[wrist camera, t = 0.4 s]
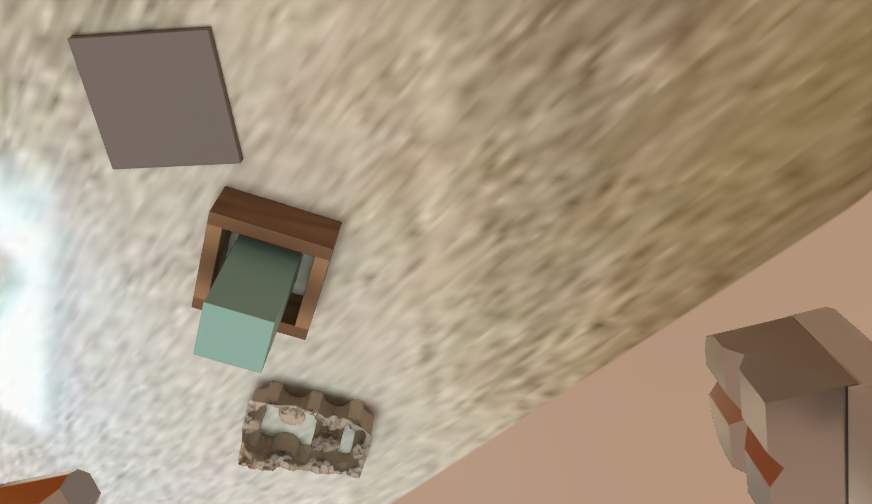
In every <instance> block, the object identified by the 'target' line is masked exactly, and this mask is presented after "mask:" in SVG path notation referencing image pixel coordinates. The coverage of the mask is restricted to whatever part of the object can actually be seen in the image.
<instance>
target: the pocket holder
mask: <svg viewBox="0 0 872 504" xmlns="http://www.w3.org/2000/svg"><path fill="white" fill-rule="evenodd" d="M340 226H341V222H338V221H335V220H332V219H329V218H325V217H322V216H319V215H316V214H313V213H309V212H306V211H303V210H300V209H296V208H293V207H290V206H287V205H284V204H280V203H277V202H274V201H271V200H268V199H264V198H261V197H258V196H255V195H251V194H248V193H245V192H242V191H239V190H235V189H232V188H229V187H226V186H225V188H224V189H223V191H222V192H221V194H220V196H219V197H218V199H217V200H216V202H215V204H214V205H213V207H212V208H211V210H210V212H209V217H208V222H207V228H206V233H205V238H204V244H203V249H202V254H201V260H200V265H199V270H198V276H197V281H196V286H195V292H194V297H193V302H192V307H193V308H197V309H200V310H202V308H203V303H204V300H205V299H206V297H207V295H208V293H209V291H210V289H211V287H212V285H213V284H214V282H215V280H216V278H217V276H218V274H219V272H220V270H221V269H222V267H223V265H224V261H225V257H226V252H227V247H228V242H229V238H230V233H231V231H233V232H236V233H239V234H242V235H246V236H249V237H252V238H256V239H259V240H262V241H266V242H269V243H272V244H275V245H279V246H282V247H285V248H289V249H292V250H295V251H298V252H302V253H305V254H308V255H312V256H315V259H314V262H313V266H312V269H311V272H310V276H309V279H308V283H307V286H306V290H305V293H304V296H299V295H296V294H293V293H291V295H290V298H289V300H288V303H287V306H286V308H285V311H284V314H283V316H282V319H281V322H280V324H279V327H278V330H277V332H279V333H283V334H286V335H290V336H293V337H297V338H300V339H304V340H305V339H306V336H307V333H308V330H309V327H310V324H311V321H312V318H313V314H314V311H315V308H316V305H317V302H318V298H319V295H320V292H321V288H322V285H323V282H324V279H325V275H326V272H327V269H328V265H329V262H330V259H331V256H332V252H333V249H334V246H335V243H336V239H337V236H338V233H339V229H340Z"/></svg>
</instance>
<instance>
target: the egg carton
mask: <svg viewBox="0 0 872 504" xmlns="http://www.w3.org/2000/svg"><path fill="white" fill-rule="evenodd" d="M266 404H270V405H273V406H274V407H276V408H279V409H280V410H279V417H280V419H281V420H282V421H283V422H285V423H287V424H290V425H297V424H300V423H302V422H303V421H304V420H305V414H304V412H307V413H309V414H310V415H314V413H317V415H316V416H315V415H314V416H315V419H318V420H317V424H316V428H315V432H314V436H313V439H312V444H311V445H304V444H300V441H299V439H298V438H297V437H296V436H295V435H293V434H291V433H286V432H284V433H279V434H277V435H276V436H275V437H274V438H272V437H267V436H264V435H262V432H261V430H260V429H259V428H260V427H261V424H262V421H263V418H264V415H265V412H266ZM373 420H374V415H373V414H371V413H369V412H368V411H367V410H365V408H364V405H363V402H362V401H359V400H354V399H352V400H351V401H350V402H349V403H348V404H346V405H344V406H335V405H332V404H330V403H328V402H327V401H326V399H325V397H324V393H323V392H318V391H314V390H312V391H311V392H310V393H309V394H308V395H306V396H304V397H294V396H292V395H290V394H288V393H287V392H286V391H285V389H284V386H283V384H282V383H279V382H273V381H272V382H271V383H270V385H269V386H268V387H266V388H261V389H257V390H256V391H255V392H254V395H253V398H252V400H251V399H250V400H249V403H248V409H247V412H246V418H245V420H244V423H243V428H242V444H241V449H240V454H239V465H241V466H248V467H249V468H251V469H260V470H262V471H263V470H272V471H274V469H276V468H277V467H282V468H285V469H288V470H290V471H295V470H297V469H298V470H304V471H311V472H314V473H316V474H334V473H337V474H344V473H346V472H347V475H349V476H351V477H354V478H357V477H358V478H359V477H360V475H361V472H362V469H363V465H364V463H365V460H366V457H367V454H368V451H369V448H370V446H371V442H372V436H371V432H372V425H373ZM347 424H349V426H350V429H352V430H353V431H355V436H354V441H353V446H352V449H351V452H350V454H343V453H340V452H338V451H337V448H338V447H339V446H340V443H341V438H342V434H343V430H344V426H345V425H347Z"/></svg>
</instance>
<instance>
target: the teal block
mask: <svg viewBox="0 0 872 504" xmlns="http://www.w3.org/2000/svg"><path fill="white" fill-rule="evenodd" d="M302 256H303V253H302V252H298V251H295V250H292V249H289V248H285V247H282V246H279V245H275V244H272V243H269V242H266V241H262V240H259V239H256V238H252V237H249V236H246V235H242V234H240V235H239V237H238V238H237V240H236V242H235V244H234V246H233V248H232V250H231V252H230V253H229V255H228V257H227V259H226V261H225V263H224V265H223V267H222V269H221V270H220V272H219V274H218V276H217V278H216V280H215V282H214V284H213V285H212V287H211V289H210V291H209V293H208V295H207V297H206V299H205V300H204V303H203V308H202V313H201V318H200V323H199V328H198V333H197V338H196V343H195V348H194V353H193V354H194V355H198V356H201V357H205V358H209V359H212V360H216V361H219V362H223V363H226V364H230V365H233V366H237V367H240V368H244V369H247V370H251V371H255V372H258V373H261V372H262V370H263V367H264V364H265V362H266V359H267V356H268V354H269V351H270V348H271V346H272V343H273V340H274V338H275V335H276V332H277V330H278V327H279V324H280V322H281V319H282V316H283V314H284V311H285V308H286V306H287V303H288V300H289V298H290V295H291V293H292V290H293V287H294V285H295V281H296V278H297V274H298V271H299V267H300V264H301V260H302Z"/></svg>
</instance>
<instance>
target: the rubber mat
mask: <svg viewBox="0 0 872 504" xmlns="http://www.w3.org/2000/svg"><path fill="white" fill-rule="evenodd" d="M68 42H69V45H70V48H71V50H72V53H73V56H74V59H75V62H76V65H77V68H78V71H79V73H80V76H81V79H82V82H83V85H84V88H85V91H86V94H87V96H88V99H89V102H90V105H91V108H92V111H93V114H94V116H95V119H96V122H97V125H98V128H99V131H100V134H101V137H102V139H103V142H104V145H105V148H106V151H107V154H108V157H109V160H110V162H111V165H112V168H113V169H131V168H152V167H172V166H193V165H214V164H235V163H241V162H242V160H243V157H242V153H241V149H240V145H239V141H238V137H237V132H236V128H235V124H234V120H233V116H232V112H231V108H230V104H229V99H228V95H227V91H226V87H225V83H224V79H223V75H222V71H221V67H220V62H219V58H218V54H217V50H216V46H215V42H214V38H213V34H212V30H211V27H202V28H187V29H172V30H157V31H142V32H127V33H112V34H97V35H81V36H71V37H70V38H68Z"/></svg>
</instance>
